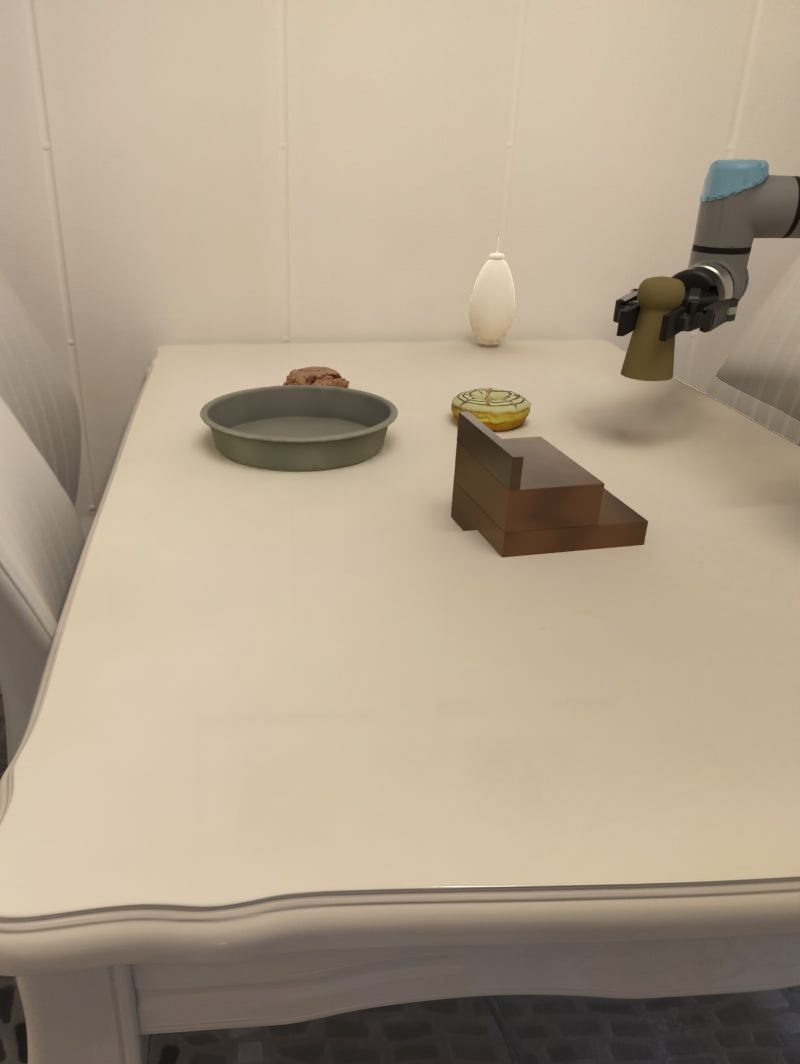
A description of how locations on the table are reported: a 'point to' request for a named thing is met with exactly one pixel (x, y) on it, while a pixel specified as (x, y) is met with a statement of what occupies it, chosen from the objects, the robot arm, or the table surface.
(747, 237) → the robot arm
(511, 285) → the sauce bottle
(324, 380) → the cookie
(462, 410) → the decorated donut
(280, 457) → the cake pan
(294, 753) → the table surface
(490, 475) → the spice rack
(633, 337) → the olive tall knobbed cone
